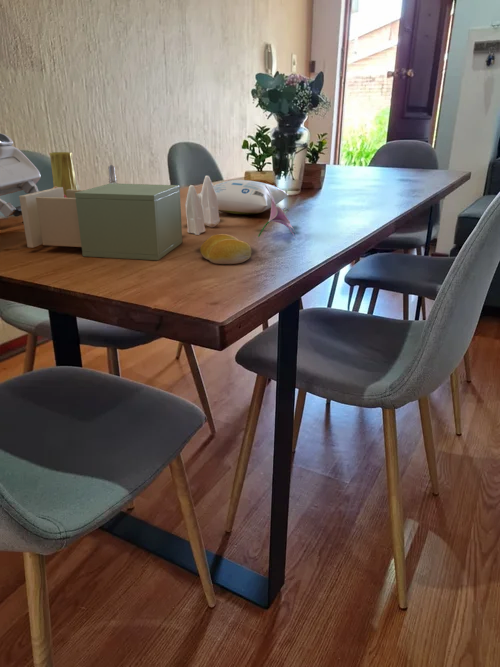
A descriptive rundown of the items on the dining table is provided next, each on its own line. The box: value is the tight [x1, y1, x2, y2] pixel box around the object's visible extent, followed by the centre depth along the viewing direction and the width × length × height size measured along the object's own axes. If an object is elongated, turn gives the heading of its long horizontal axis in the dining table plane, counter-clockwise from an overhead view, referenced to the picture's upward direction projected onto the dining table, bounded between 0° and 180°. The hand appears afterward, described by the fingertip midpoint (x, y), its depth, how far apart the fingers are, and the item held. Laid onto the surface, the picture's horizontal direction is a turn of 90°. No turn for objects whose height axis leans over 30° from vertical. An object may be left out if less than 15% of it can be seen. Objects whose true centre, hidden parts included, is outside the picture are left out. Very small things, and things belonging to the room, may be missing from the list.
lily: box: [257, 187, 297, 239], centre depth 103 cm, size 12×12×10 cm
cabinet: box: [75, 182, 183, 261], centre depth 91 cm, size 14×14×11 cm
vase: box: [49, 151, 78, 196], centre depth 128 cm, size 6×6×14 cm
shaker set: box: [184, 175, 221, 236], centre depth 109 cm, size 12×4×11 cm, turn 156°
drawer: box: [12, 187, 84, 248], centre depth 94 cm, size 17×13×9 cm
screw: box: [107, 164, 118, 184], centre depth 112 cm, size 13×5×5 cm
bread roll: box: [199, 233, 252, 265], centre depth 87 cm, size 8×9×4 cm
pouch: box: [197, 179, 289, 215], centre depth 129 cm, size 8×19×20 cm
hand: (27, 208), depth 95 cm, fingers open, 8 cm apart
